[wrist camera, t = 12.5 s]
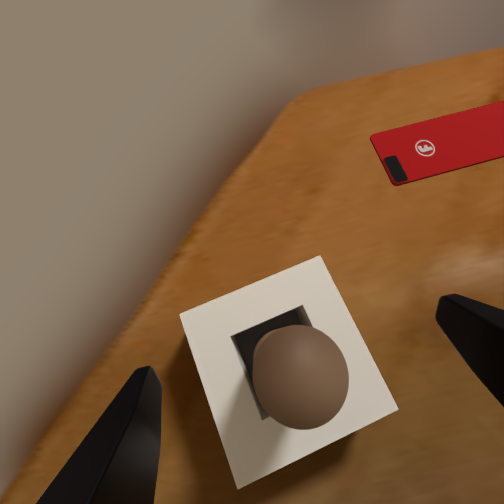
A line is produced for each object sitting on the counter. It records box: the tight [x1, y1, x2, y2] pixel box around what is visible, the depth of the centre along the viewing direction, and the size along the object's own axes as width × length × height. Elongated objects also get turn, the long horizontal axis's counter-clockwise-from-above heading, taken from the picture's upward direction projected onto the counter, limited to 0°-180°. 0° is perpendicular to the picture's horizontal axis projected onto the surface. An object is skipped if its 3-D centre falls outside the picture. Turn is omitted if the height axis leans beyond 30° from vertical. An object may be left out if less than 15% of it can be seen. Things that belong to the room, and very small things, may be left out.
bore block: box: [179, 256, 399, 489], centre depth 18 cm, size 10×10×4 cm
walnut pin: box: [252, 325, 349, 430], centre depth 15 cm, size 4×4×10 cm
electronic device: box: [370, 101, 504, 185], centre depth 26 cm, size 6×1×15 cm
